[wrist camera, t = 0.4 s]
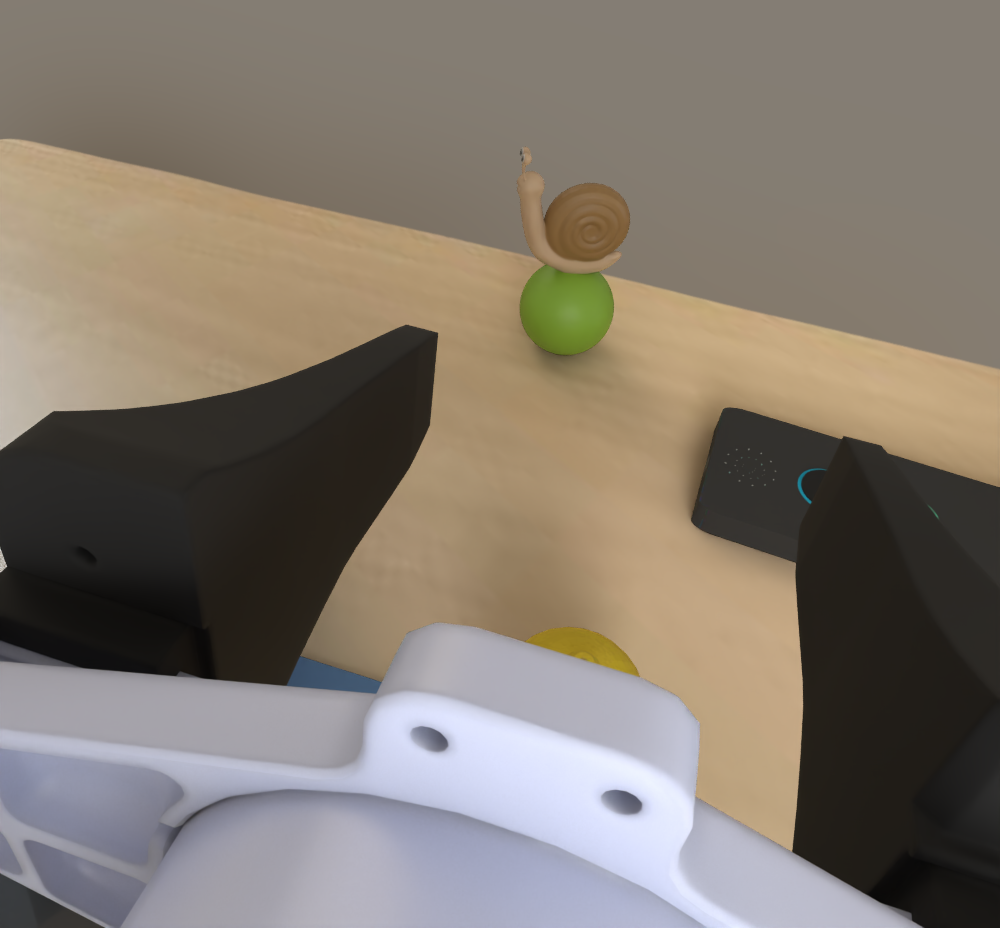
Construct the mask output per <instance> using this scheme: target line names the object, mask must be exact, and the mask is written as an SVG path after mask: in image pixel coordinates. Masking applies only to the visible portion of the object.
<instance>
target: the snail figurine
mask: <svg viewBox="0 0 1000 928" xmlns="http://www.w3.org/2000/svg"><path fill="white" fill-rule="evenodd" d="M520 155H521V157H522V175H520V177H519V178H518V180H517V184H518V188H517V191H518V194H519V196H520V201H521V216H522V222H523V228H524V233H525V237H526V240H527V243H528V245H529V248H530V250H531V252H532V253H533V254H534V256H535V257H536V258H537V259H538V260H539V261H541V262H543V263H544V264H546V265H545V266H543V267H541V268H540V269H539V270H537V271H536V272H535V273H534V274H533V275H532V276H531V278H530V279H529V280H528V282H527V283H526V285H525V287H524V289H523V292H522V295H521V300H520V317H521V321H522V324H523V327H524V329H525V331H526V333H527V334H528V336H529V337H530V338H531V339H532V341H533V342H534V343H535V344H537V345H538V346H539V347H541V348H542V349H544V350H546V351H548V352H551V353H554V354H558V355H574V354H578V353H582V352H584V351H586V350H588V349H590V348H592V347H593V346H595V345H596V344H597V343H598V342H599V341H600V340H601V339H602V338H603V337H604V335H605V334H606V332H607V331H608V329H609V327H610V324H611V322H612V318H613V313H614V301H613V295H612V292H611V289H610V287H609V285H608V283H607V281H606V280H605V278H604V277H603V276H602V275H601V273H600V272H599V271H602V270H604V269H606V268H608V267H609V266H611V265H612V264H614V263H615V262H616V261H617V260H618V259H619V258H620V257H621V255H622V253H621V252H619V251H614V250H615V249H617V248H618V246H620V244H621V243H622V242H623V240H624V239H625V237H626V235H627V233H628V230H629V225H630V213H629V209H628V206H627V204H626V202H625V200H624V199H623V198H622V196H621V195H620V194H619V193H618V192H617V191H615V190H614V189H612V188H611V187H608V186H606V185H603V184H597V183H584V184H579V185H576V186H573V187H571V188H569V189H567V190H565V191H564V192H562V193H561V194H560V195H558V197H556V198H555V199H554V200H553V202H552V203H551V205H550V206H549V208H548V210H547V212H546V215H545V218H544V219H543V212H542V205H541V196H542V193H543V191H544V187H545V184H544V180H543V178H542V176H541V175H539V174H538V173H536V172H534V171H527V172H525V167H526V165H528V164H530V163H531V161H532V157H531V155H530V150H529V148H528V147H523V148H522V149H521V151H520Z"/></svg>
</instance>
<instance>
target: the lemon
mask: <svg viewBox="0 0 1000 928" xmlns="http://www.w3.org/2000/svg"><path fill="white" fill-rule="evenodd" d="M525 642H527V643H530V644H533V645H537V646H540V647H543V648H546V649H550V650H553V651H556V652H559V653H563V654H566V655H569V656H573V657H576V658H579V659H582V660H586V661H589V662H592V663H596V664H599V665H602V666H605V667H609V668H612V669H615V670H618V671H622V672H625V673H628V674H632V675H635V676H638V677H640V676H639V673H638V671H637V669H636V667H635V665H634V664H633V663H632V661H631V660H630V658H629V657H628V656H627V654H626V653H625V652H624V651H623V650H621V649H620V648H619V647H618V646H617V645H616V644H615V643H614V642H613V641H611V640H609V639H607V638H606V637H604V636H602V635H601V634H599V633H596V632H593V631H590V630H587V629H583V628H573V627H563V628H554V629H549V630H547V631H544V632H541V633H538V634H536V635H534V636H532V637H531V638H529V639H528V640H527V641H525Z"/></svg>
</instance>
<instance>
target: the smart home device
mask: <svg viewBox="0 0 1000 928" xmlns="http://www.w3.org/2000/svg"><path fill="white" fill-rule="evenodd" d="M841 440H842V439H838V438H835V437H832V436H829V435H825V434H822V433H819V432H815V431H812V430H809V429H806V428H802V427H799V426H796V425H792V424H789V423H786V422H782V421H779V420H776V419H773V418H769V417H766V416H763V415H759V414H756V413H753V412H750V411H746V410H742V409H738V408H724V409H723V411H722V413H721V416H720V418H719V421H718V423H717V426H716V428H715V431H714V435H713V439H712V443H711V446H710V450H709V454H708V458H707V462H706V465H705V469H704V473H703V477H702V481H701V484H700V488H699V492H698V496H697V499H696V503H695V507H694V511H693V515H692V518H691V521H692V523H693V524H694V525H695V526H697V527H698V528H700V529H701V530H703V531H705V532H708V533H710V534H713V535H715V536H718V537H721V538H724V539H727V540H730V541H733V542H736V543H739V544H742V545H745V546H748V547H751V548H754V549H757V550H760V551H763V552H766V553H769V554H772V555H775V556H778V557H781V558H784V559H787V560H790V561H793V562H796V561H797V548H798V538H799V528H800V524H801V522H802V520H803V518H804V516H805V514H806V512H807V510H808V508H809V506H810V504H811V502H812V500H813V498H814V496H815V494H816V492H817V489H818V487H819V485H820V483H821V481H822V479H823V477H824V475H825V473H826V471H827V469H828V467H829V465H830V463H831V461H832V459H833V457H834V455H835V453H836V451H837V449H838V447H839V445H840V442H841ZM889 456H890V457H891V458H892V459H893V461H894V462H895V463H896V464H897V466H898V467H899V468H900V470H901V471H902V472H903V474H904V475H905V476H906V477H907V479H908V480H909V481H910V483H911V484H912V485H913V487H914V488H915V489H916V491H917V492H918V493H919V495H920V496H921V497H922V498H923V500H924V501H925V502H926V504H927V505H928V506H929V507H930V509H931V510H932V511H933V512H934V514H935V515H936V516H937V517H938V519H939V520H940V521H941V522H942V523H943V525H944V526H945V527H946V528H947V529H948V531H949V532H950V533H951V534H952V535H953V537H954V538H955V539H956V540H957V541H958V542H959V543H960V545H961V546H962V547H963V548H964V549H965V550H966V551H967V552H968V553H969V554H970V556H971V557H972V558H973V559H974V560H975V561H976V562H977V563H978V564H979V565H980V567H981V568H982V569H983V570H984V571H985V572H986V573H987V574H988V575H989V576H990V577H991V578H992V579H993V580H994V581H995V582H996V583H997V584H998V585H999V586H1000V487H996V486H993V485H990V484H986V483H983V482H980V481H977V480H973V479H970V478H967V477H963V476H960V475H957V474H954V473H950V472H947V471H944V470H940V469H937V468H934V467H931V466H927V465H924V464H921V463H917V462H914V461H911V460H907V459H904V458H901V457H898V456H894V455H891V454H889Z"/></svg>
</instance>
